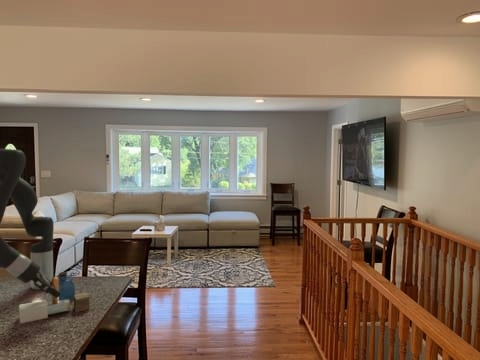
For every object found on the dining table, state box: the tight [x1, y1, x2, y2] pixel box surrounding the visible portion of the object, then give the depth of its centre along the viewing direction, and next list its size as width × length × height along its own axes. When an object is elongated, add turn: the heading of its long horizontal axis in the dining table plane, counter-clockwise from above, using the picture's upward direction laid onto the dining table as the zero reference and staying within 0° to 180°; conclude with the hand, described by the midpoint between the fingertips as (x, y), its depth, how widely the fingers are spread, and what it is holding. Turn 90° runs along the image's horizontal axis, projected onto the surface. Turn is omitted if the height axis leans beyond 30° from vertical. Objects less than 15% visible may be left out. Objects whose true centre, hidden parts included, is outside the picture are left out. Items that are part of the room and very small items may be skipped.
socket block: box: [73, 292, 90, 313], centre depth 147 cm, size 5×5×5 cm
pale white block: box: [18, 299, 49, 324], centre depth 138 cm, size 5×9×5 cm, turn 123°
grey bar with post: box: [47, 276, 71, 315], centre depth 140 cm, size 3×16×13 cm, turn 123°
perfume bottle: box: [58, 271, 76, 302], centre depth 155 cm, size 6×6×12 cm
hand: (57, 292), depth 142 cm, fingers open, 8 cm apart
